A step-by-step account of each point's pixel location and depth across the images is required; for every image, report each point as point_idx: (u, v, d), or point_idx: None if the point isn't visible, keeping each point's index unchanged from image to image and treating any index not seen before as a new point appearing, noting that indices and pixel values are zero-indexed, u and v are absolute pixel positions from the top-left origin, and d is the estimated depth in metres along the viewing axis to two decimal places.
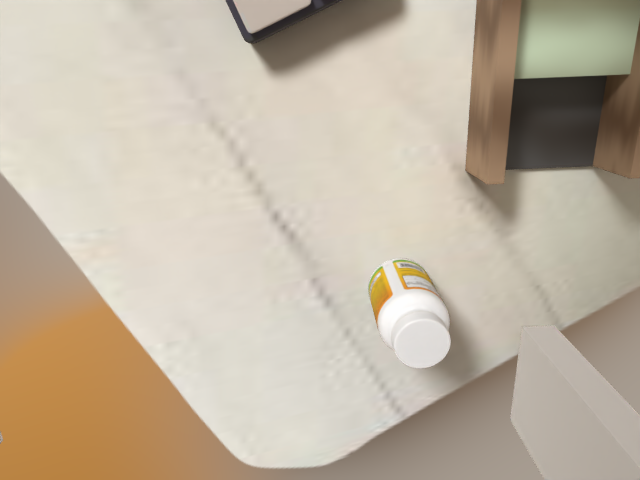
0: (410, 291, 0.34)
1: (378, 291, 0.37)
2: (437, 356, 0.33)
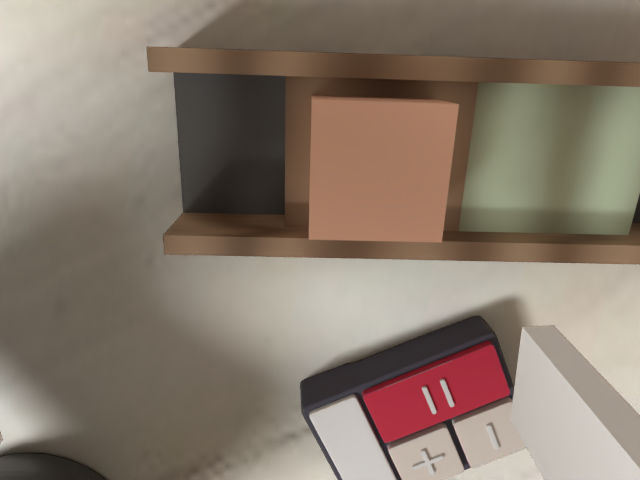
0: None
1: None
2: None
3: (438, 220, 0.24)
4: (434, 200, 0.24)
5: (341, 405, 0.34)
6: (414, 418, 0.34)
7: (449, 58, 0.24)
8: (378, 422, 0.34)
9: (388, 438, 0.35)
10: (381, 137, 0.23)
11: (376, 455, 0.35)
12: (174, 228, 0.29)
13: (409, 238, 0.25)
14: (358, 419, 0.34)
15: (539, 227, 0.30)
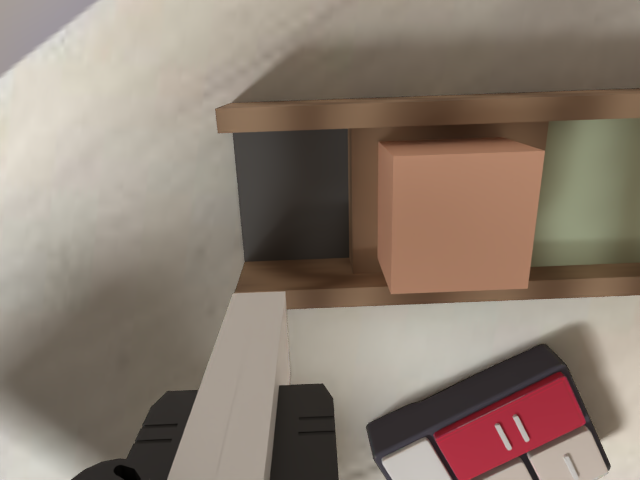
0: None
1: None
2: None
3: (524, 267, 0.24)
4: (520, 247, 0.23)
5: (413, 450, 0.33)
6: (488, 455, 0.33)
7: (524, 99, 0.24)
8: (452, 463, 0.33)
9: (464, 478, 0.34)
10: (465, 189, 0.22)
11: None
12: (242, 283, 0.28)
13: (493, 286, 0.24)
14: (431, 462, 0.34)
15: (613, 257, 0.29)
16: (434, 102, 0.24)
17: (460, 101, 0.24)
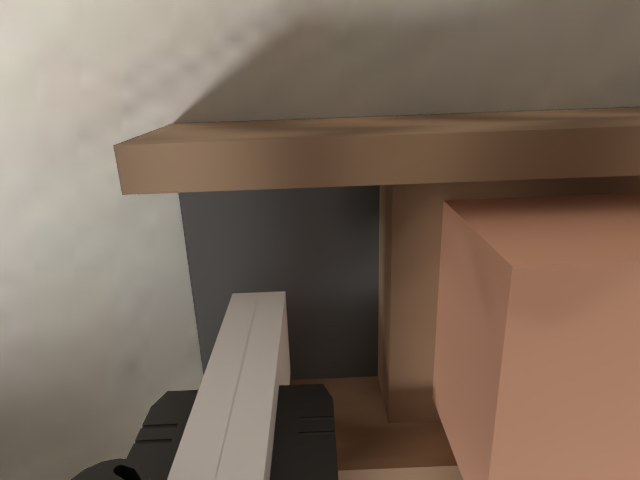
0: None
1: None
2: None
3: None
4: None
5: None
6: None
7: None
8: None
9: None
10: None
11: None
12: None
13: None
14: None
15: None
16: (576, 131, 0.11)
17: (631, 129, 0.11)
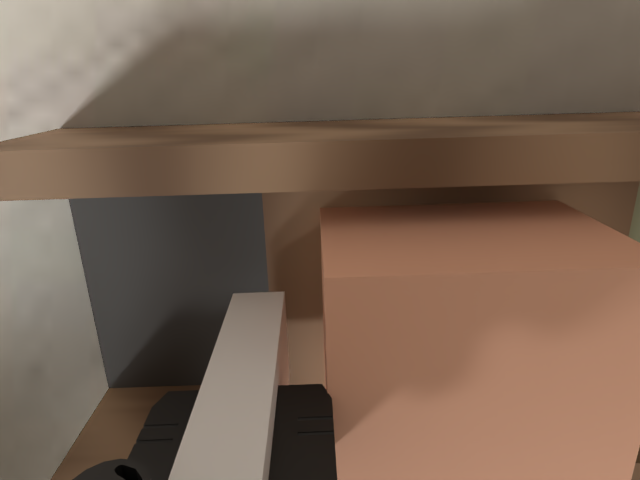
0: None
1: None
2: None
3: None
4: (609, 458, 0.11)
5: None
6: None
7: (609, 136, 0.11)
8: None
9: None
10: (493, 347, 0.10)
11: None
12: (77, 452, 0.16)
13: None
14: None
15: None
16: (418, 141, 0.11)
17: (473, 139, 0.11)
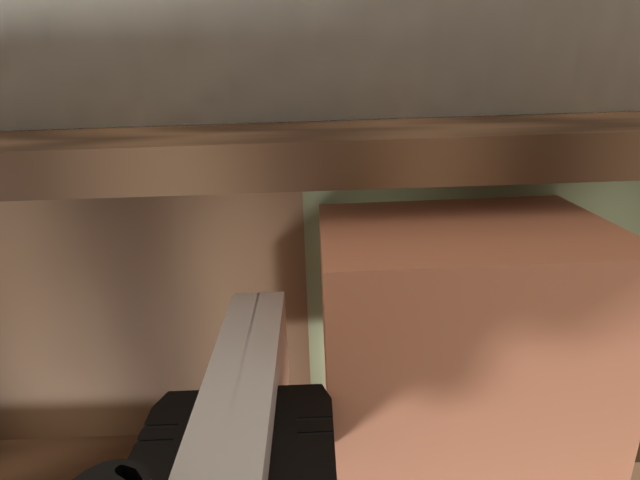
0: None
1: None
2: None
3: None
4: (609, 452, 0.11)
5: None
6: None
7: (198, 149, 0.11)
8: None
9: None
10: (492, 340, 0.10)
11: None
12: None
13: None
14: None
15: None
16: (4, 154, 0.11)
17: (61, 152, 0.11)
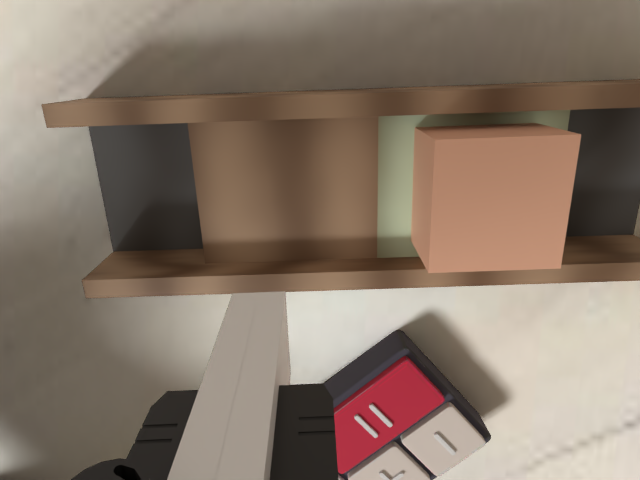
0: None
1: None
2: None
3: (557, 247, 0.25)
4: (554, 228, 0.24)
5: None
6: (359, 445, 0.35)
7: (338, 95, 0.25)
8: None
9: (342, 469, 0.35)
10: (503, 171, 0.23)
11: None
12: (96, 271, 0.29)
13: (528, 266, 0.25)
14: None
15: None
16: (250, 98, 0.25)
17: (276, 97, 0.25)
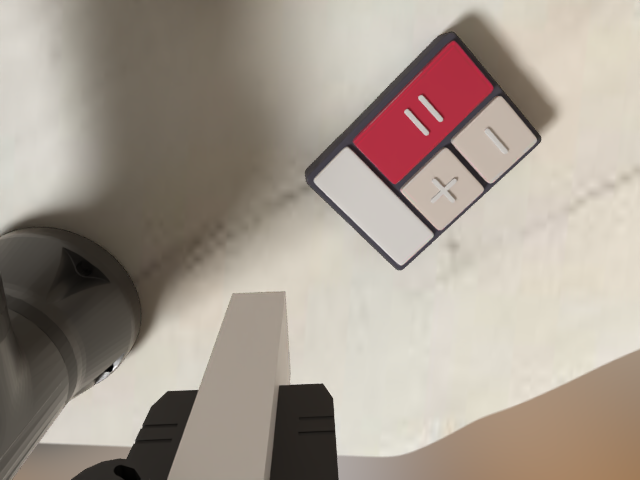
0: None
1: None
2: None
3: None
4: None
5: (338, 160, 0.35)
6: (410, 147, 0.35)
7: None
8: (379, 164, 0.35)
9: (395, 178, 0.35)
10: None
11: (392, 201, 0.36)
12: None
13: None
14: (360, 170, 0.35)
15: None
16: None
17: None
